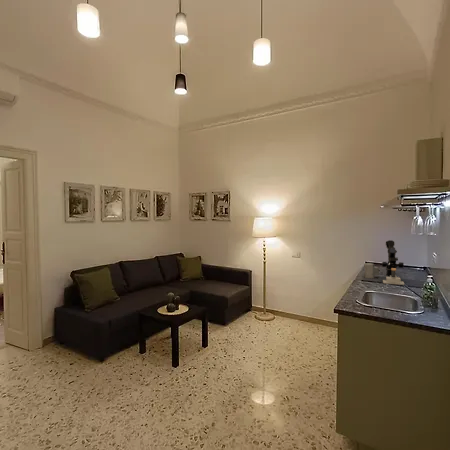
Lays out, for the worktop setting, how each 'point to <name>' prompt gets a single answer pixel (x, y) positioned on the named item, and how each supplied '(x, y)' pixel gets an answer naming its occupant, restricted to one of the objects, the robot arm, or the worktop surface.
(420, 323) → the worktop surface
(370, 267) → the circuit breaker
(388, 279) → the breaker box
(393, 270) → the lever
